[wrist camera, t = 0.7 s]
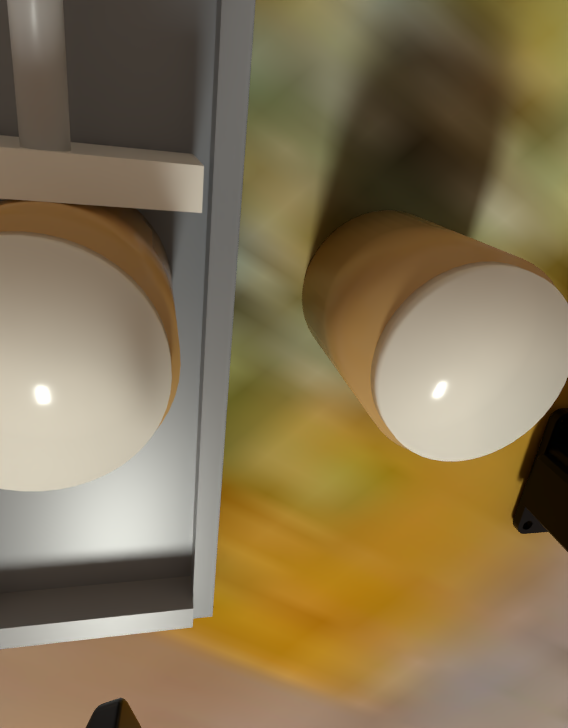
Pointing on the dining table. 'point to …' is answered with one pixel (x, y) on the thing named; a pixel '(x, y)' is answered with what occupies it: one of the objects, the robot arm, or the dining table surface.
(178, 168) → the pusher
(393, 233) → the amber jar
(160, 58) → the tray
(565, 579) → the dining table surface
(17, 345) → the amber jar
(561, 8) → the dining table surface
